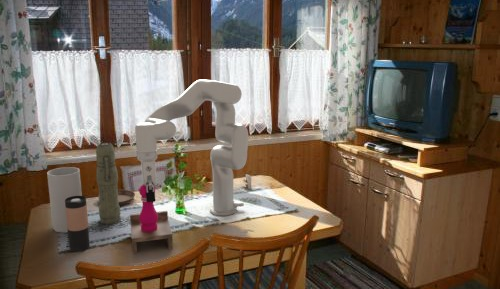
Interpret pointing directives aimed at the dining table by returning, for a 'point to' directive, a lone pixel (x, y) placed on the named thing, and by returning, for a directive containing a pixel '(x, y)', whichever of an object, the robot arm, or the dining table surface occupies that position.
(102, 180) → the stone totem statue
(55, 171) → the cylinder vase
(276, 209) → the dining table surface
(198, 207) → the dining table surface
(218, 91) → the robot arm
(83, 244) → the travel mug
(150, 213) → the pepper mill
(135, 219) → the walnut shelf
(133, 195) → the plant saucer
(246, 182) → the architectural model
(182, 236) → the dining table surface
